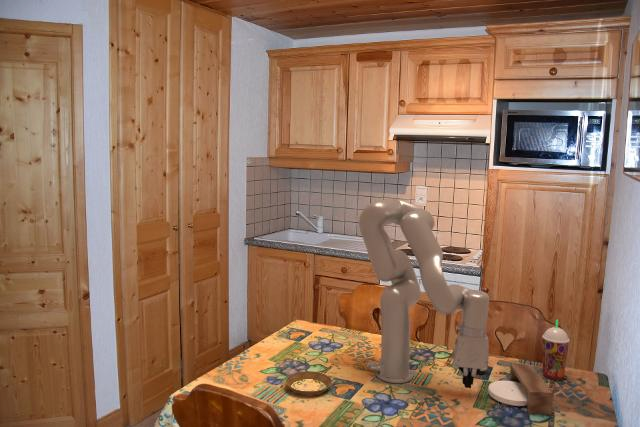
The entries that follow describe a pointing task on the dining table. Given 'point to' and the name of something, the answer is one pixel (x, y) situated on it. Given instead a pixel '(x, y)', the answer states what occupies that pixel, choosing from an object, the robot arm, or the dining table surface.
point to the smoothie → (555, 352)
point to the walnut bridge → (533, 388)
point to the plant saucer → (309, 375)
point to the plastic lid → (509, 393)
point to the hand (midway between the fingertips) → (467, 386)
